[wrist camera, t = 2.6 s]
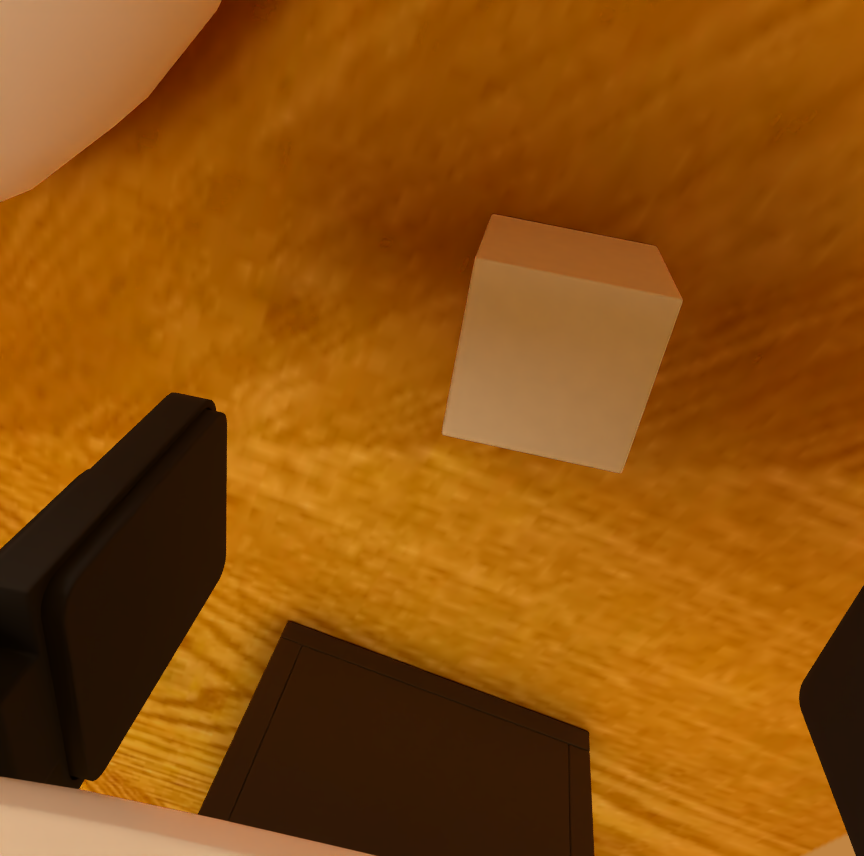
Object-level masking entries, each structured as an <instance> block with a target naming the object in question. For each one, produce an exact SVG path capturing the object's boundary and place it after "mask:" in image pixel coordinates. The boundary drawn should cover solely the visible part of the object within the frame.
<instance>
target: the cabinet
mask: <svg viewBox="0 0 864 856" xmlns="http://www.w3.org/2000/svg"><path fill="white" fill-rule="evenodd" d="M589 751H590V748H589V732H587V731H584V730H582V729H579V728H576V727H573V726H571V725H568V724H565V723H563V722H560V721H557V720H555V719H552V718H549V717H547V716H544V715H541V714H538V713H536V712H533V711H530V710H528V709H525V708H522V707H520V706H517V705H514V704H511V703H509V702H506V701H503V700H501V699H498V698H495V697H493V696H490V695H487V694H485V693H482V692H479V691H476V690H474V689H471V688H468V687H466V686H463V685H460V684H458V683H455V682H452V681H450V680H447V679H444V678H441V677H439V676H436V675H433V674H431V673H428V672H425V671H423V670H420V669H417V668H414V667H412V666H409V665H406V664H404V663H401V662H398V661H396V660H393V659H390V658H388V657H385V656H382V655H379V654H377V653H374V652H371V651H369V650H366V649H363V648H361V647H358V646H355V645H352V644H350V643H347V642H344V641H342V640H339V639H336V638H334V637H331V636H328V635H326V634H323V633H320V632H317V631H315V630H312V629H309V628H307V627H304V626H301V625H299V624H296V623H293V622H291V621H288V622H287V624H286V626H285V628H284V631H283V633H282V635H281V637H280V639H279V641H278V643H277V645H276V648H275V650H274V652H273V654H272V656H271V658H270V661H269V663H268V665H267V667H266V669H265V671H264V673H263V676H262V678H261V680H260V682H259V684H258V686H257V688H256V691H255V693H254V695H253V697H252V699H251V701H250V703H249V706H248V708H247V710H246V712H245V714H244V716H243V718H242V721H241V723H240V725H239V727H238V729H237V731H236V734H235V736H234V738H233V740H232V742H231V744H230V746H229V749H228V751H227V753H226V755H225V757H224V759H223V761H222V764H221V766H220V768H219V770H218V772H217V774H216V776H215V779H214V781H213V783H212V785H211V787H210V789H209V791H208V794H207V796H206V798H205V800H204V802H203V804H202V807H201V809H200V811H199V813H198V815H202V816H206V817H211V818H216V819H220V820H225V821H229V822H234V823H238V824H242V825H246V826H251V827H255V828H259V829H264V830H268V831H272V832H277V833H281V834H285V835H290V836H294V837H298V838H302V839H307V840H311V841H315V842H320V843H324V844H328V845H333V846H337V847H341V848H346V849H350V850H354V851H358V852H363V853H367V854H371V855H376V856H594V839H593V817H592V795H591V773H590V753H589Z"/></svg>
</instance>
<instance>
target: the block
mask: <svg viewBox="0 0 864 856" xmlns="http://www.w3.org/2000/svg"><path fill="white" fill-rule="evenodd" d="M682 303H683V299H682V297H681V295H680V293H679V291H678V289H677V287H676V285H675V283H674V281H673V279H672V277H671V274H670V272H669V270H668V268H667V266H666V264H665V262H664V260H663V258H662V256H661V254H660V252H659V250H658V248H657V247H656V246H653V245H648V244H643V243H638V242H633V241H628V240H623V239H618V238H613V237H608V236H603V235H598V234H593V233H588V232H583V231H578V230H572V229H567V228H562V227H557V226H552V225H547V224H542V223H537V222H532V221H527V220H522V219H517V218H512V217H507V216H502V215H497V214H492V215H491V218H490V220H489V223H488V225H487V228H486V231H485V233H484V236H483V239H482V241H481V244H480V246H479V249H478V252H477V254H476V257H475V260H474V265H473V270H472V275H471V281H470V286H469V291H468V296H467V301H466V307H465V312H464V317H463V322H462V328H461V333H460V338H459V343H458V349H457V354H456V359H455V364H454V369H453V375H452V380H451V385H450V390H449V396H448V401H447V406H446V411H445V416H444V422H443V427H442V434H443V435H445V436H450V437H455V438H459V439H464V440H468V441H473V442H478V443H482V444H487V445H491V446H496V447H501V448H505V449H510V450H514V451H519V452H524V453H528V454H533V455H537V456H542V457H547V458H551V459H556V460H560V461H565V462H570V463H574V464H579V465H583V466H588V467H592V468H597V469H602V470H606V471H611V472H615V473H622V471H623V469H624V466H625V463H626V460H627V457H628V455H629V452H630V449H631V446H632V443H633V441H634V438H635V435H636V432H637V429H638V426H639V424H640V421H641V418H642V415H643V412H644V410H645V407H646V404H647V401H648V398H649V396H650V393H651V390H652V387H653V384H654V381H655V379H656V376H657V373H658V370H659V367H660V365H661V362H662V359H663V356H664V353H665V350H666V348H667V345H668V342H669V339H670V336H671V334H672V331H673V328H674V325H675V322H676V319H677V317H678V314H679V311H680V308H681V305H682Z"/></svg>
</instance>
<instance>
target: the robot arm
mask: <svg viewBox="0 0 864 856" xmlns="http://www.w3.org/2000/svg"><path fill="white" fill-rule="evenodd" d="M226 483H227V419H226V415H225V414H224V413H222V412H217V411H216V407H215V404H214V402H213V401H212V400H208V399H204V398H199V397H194V396H189V395H185V394H180V393H170V394H169V395H167V396H166V397H165V398H164V399H163V400H162V401H161V402H160V403H159V404H158V405H157V406H156V407H155V408H154V409H153V410H152V411H151V412H149V413H148V414H147V415H146V416H145V417H144V418H143V419H142V420H141V421H140V422H139V423H138V424H137V425H136V426H135V427H134V428H133V429H132V430H131V431H130V432H128V433H127V434H126V435H125V436H124V437H123V438H122V439H121V440H120V441H119V442H118V443H117V444H116V445H115V446H114V447H113V448H112V449H111V450H110V451H108V452H107V453H106V454H105V455H104V456H103V457H102V458H101V459H100V460H99V461H98V462H97V463H96V464H95V465H94V466H93V467H92V468H91V469H88V470H86V471H85V472H83V473H82V474H80V475H79V476H78V477H77V478H76V479H75V480H73V481H72V482H71V483H70V484H69V485H68V486H67V487H66V488H65V489H64V490H63V491H62V492H61V493H60V494H59V495H58V496H56V497H55V498H54V499H53V500H52V501H51V502H50V503H49V504H48V505H47V506H46V507H45V508H44V509H43V510H42V511H41V512H39V513H38V514H37V515H36V516H35V517H34V518H33V519H32V520H31V521H30V522H29V523H28V524H27V525H26V526H25V527H24V528H22V529H21V530H20V531H19V532H18V533H17V534H16V535H15V536H14V537H13V538H12V539H11V540H10V541H9V542H8V543H7V544H5V545H4V546H3V547H2V548H1V549H0V856H376V855H371V854H367V853H363V852H358V851H354V850H350V849H346V848H341V847H337V846H333V845H328V844H324V843H320V842H315V841H311V840H307V839H302V838H298V837H294V836H290V835H285V834H281V833H277V832H272V831H268V830H264V829H259V828H255V827H251V826H246V825H242V824H238V823H234V822H229V821H225V820H220V819H216V818H211V817H206V816H202V815H197V814H192V813H188V812H183V811H178V810H174V809H169V808H164V807H159V806H155V805H150V804H145V803H141V802H136V801H131V800H127V799H122V798H117V797H113V796H108V795H103V794H98V793H94V792H89V791H84V790H80V789H79V788H80V786H81V785H82V783H83V781H84V780H85V779H86V780H90V781H94V780H96V779H98V778H99V776H100V775H101V774H102V773H103V771H104V770H105V769H106V767H107V765H108V764H109V762H110V760H111V759H112V757H113V755H114V754H115V752H116V750H117V749H118V747H119V745H120V744H121V742H122V740H123V739H124V737H125V735H126V734H127V732H128V730H129V729H130V727H131V725H132V724H133V722H134V720H135V719H136V717H137V715H138V714H139V712H140V710H141V709H142V707H143V705H144V704H145V702H146V700H147V699H148V697H149V695H150V694H151V692H152V690H153V689H154V687H155V685H156V684H157V682H158V680H159V679H160V677H161V675H162V674H163V672H164V670H165V669H166V667H167V666H168V664H169V662H170V661H171V659H172V657H173V656H174V654H175V652H176V651H177V649H178V647H179V646H180V644H181V642H182V641H183V639H184V637H185V636H186V634H187V632H188V631H189V629H190V627H191V626H192V624H193V622H194V621H195V619H196V617H197V616H198V614H199V612H200V611H201V609H202V607H203V606H204V604H205V602H206V601H207V599H208V597H209V596H210V594H211V592H212V591H213V589H214V587H215V586H216V584H217V582H218V581H219V579H220V577H221V574H222V572H223V568H224V565H225V560H226ZM799 702H800V707H801V711H802V714H803V716H804V719H805V722H806V724H807V727H808V730H809V732H810V735H811V738H812V740H813V743H814V746H815V748H816V751H817V753H818V756H819V759H820V761H821V764H822V767H823V769H824V772H825V775H826V777H827V780H828V783H829V785H830V788H831V791H832V793H833V796H834V799H835V801H836V804H837V806H838V809H839V812H840V814H841V817H842V820H843V822H844V825H845V828H846V830H847V833H848V836H849V838H850V841H851V844H852V846H853V849H854V852H855V854H856V856H864V586H863V587H862V589H861V590H860V592H859V593H858V595H857V597H856V598H855V600H854V601H853V603H852V605H851V606H850V608H849V609H848V611H847V612H846V614H845V616H844V617H843V619H842V620H841V622H840V624H839V625H838V627H837V628H836V630H835V631H834V633H833V635H832V636H831V638H830V639H829V641H828V643H827V644H826V646H825V647H824V649H823V650H822V652H821V654H820V655H819V657H818V658H817V660H816V662H815V663H814V665H813V666H812V668H811V669H810V671H809V673H808V674H807V676H806V677H805V679H804V681H803V683H802V685H801V688H800V694H799Z"/></svg>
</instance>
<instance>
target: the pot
mask: <svg viewBox="0 0 864 856" xmlns="http://www.w3.org/2000/svg"><path fill="white" fill-rule="evenodd" d="M221 1H222V0H0V202H2V201H4V200H7V199H9V198H12V197H14V196H17V195H19V194H22V193H24V192H27V191H29V190H32V189H33V188H34V187H36V186H37V185H38V184H39V183H41V182H42V181H43V180H45V179H46V178H47V177H49V176H50V175H51V174H53V173H54V172H55V171H56V170H58V169H59V168H60V167H62V166H63V165H64V164H66V163H67V162H68V161H70V160H71V159H72V158H73V157H75V156H76V155H77V154H79V153H80V152H81V151H83V150H84V149H85V148H87V147H88V146H89V145H91V144H92V143H93V142H94V141H96V140H97V139H98V138H100V137H101V136H102V135H104V134H105V133H106V132H108V131H109V130H110V129H111V128H113V127H114V126H115V125H117V124H118V123H119V122H120V121H121V120H122V119H123V118H125V117H126V116H127V115H128V114H129V113H130V112H131V111H133V110H134V109H135V108H136V107H137V106H138V105H140V104H141V103H142V102H143V101H144V100H145V99H146V98H148V96H149V95H150V94H151V93H152V91H153V90H154V89H155V88H156V86H157V85H158V84H159V83H160V81H161V80H162V79H163V78H164V76H165V75H166V74H167V73H168V71H169V70H170V69H171V67H172V66H173V65H174V64H175V62H176V61H177V60H178V59H179V57H180V56H181V55H182V54H183V52H184V51H185V50H186V49H187V47H188V46H189V45H190V44H191V42H192V41H193V40H194V38H195V37H196V36H197V35H198V33H199V32H200V31H201V30H202V28H203V27H204V26H205V25H206V23H207V22H208V21H209V20H210V18H211V17H212V16H213V14H214V13H215V12H216V11H217V9H218V7H219V5H220V3H221Z"/></svg>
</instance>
